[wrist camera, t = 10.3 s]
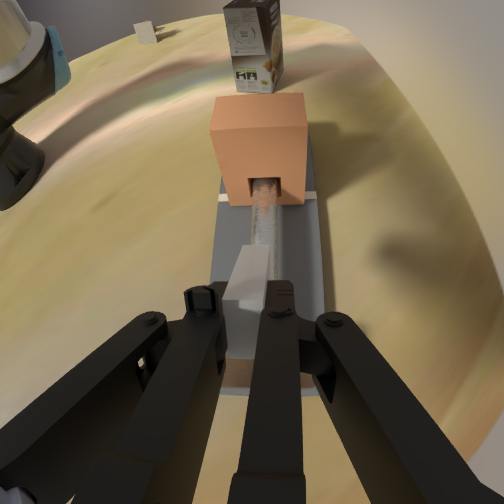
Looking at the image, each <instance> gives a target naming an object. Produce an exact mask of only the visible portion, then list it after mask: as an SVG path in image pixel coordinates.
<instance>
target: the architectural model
mask: <svg viewBox="0 0 504 504" xmlns="http://www.w3.org/2000/svg"><path fill="white" fill-rule="evenodd" d="M134 28H135V31H136V34H137V37H138V40H139V43H140V45H145V44H152V43H158V41H157V38H156V35H155V33H160V32H161V31H162V30H163V29H164V28H165V27H162V28H156V26H155V27H154V28H155V29H154V28H153V26H152V22H151V21H148V22H147V20H146V21H145V22H143V23H138V24H134Z"/></svg>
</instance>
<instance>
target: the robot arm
mask: <svg viewBox="0 0 504 504" xmlns="http://www.w3.org/2000/svg"><path fill="white" fill-rule="evenodd" d="M70 79H71V72H70V68H69V65H68V62H67V59H66V56H65V53H64V50H63V47H62V44H61V41H60V38H59V35H58V32H57V30H56V27H55V26H50V27H47V28H44V27H43V26H42V25H41V24H40V23H38V22H28V20H27V19H26V17H25V15H24V14H23V12H22V10H21V9H20V7H19V5H18V3H17V1H16V0H0V211H2V210H5V209H7V208H9V207H11V206H12V205H13V204H15V203H16V202H17V201H18V200H19V199H20V198H21V197H22V196H23V195H24V194H25V193H26V192H27V191H28V190H29V188H30V187H31V186H32V184H33V183H34V181H35V180H36V178H37V177H38V175H39V173H40V171H41V169H42V166H43V163H44V153H43V151H42V150H41V149H40V147H39V146H38V145H37V144H36V143H35V142H32V141H31V140H29V139H28V138H26V137H25V136H23V135H21V134H20V133H18V132H17V131H16V130H15V129H14V128H13V126H12V125H13V124H14V123H15V122H16V121H18V120H19V119H20V118H22V117H23V116H24V115H26V114H27V113H28V112H30V111H31V110H32V109H34V108H35V107H37V106H38V105H40V104H41V103H42V102H44V101H45V100H47V99H48V98H50V97H51V96H53V95H55V94H56V92H58V91H59V90H60V89H62V88H63V87H64V86H66V85H67V84H68V83H69V82H70ZM184 298H185V304H186V311H187V312H186V314H185V316H184V318H183V319H181V320H176V321H168V322H167V320H166V316H165V315H164V314H163V313H160V312H154V311H149V312H146V313H143V314H140V315H139V316H137V317H136V318H134V319H133V320H132V321H131V322H129V323H128V324H127V325H126V326H124V327H123V328H122V329H121V330H119V331H118V332H117V333H116V334H114V335H113V336H112V337H111V338H109V339H108V340H107V341H106V342H104V343H103V344H102V345H101V346H100V347H98V348H97V349H96V350H95V351H93V352H92V353H91V354H90V355H88V356H87V357H86V358H85V359H84V360H82V361H81V362H80V363H79V364H77V365H76V366H75V367H74V368H73V369H71V370H70V371H69V372H68V373H66V374H65V375H64V376H63V377H62V378H60V379H59V380H58V381H57V382H56V383H54V384H53V385H52V386H51V387H50V388H48V389H47V390H46V391H45V392H44V393H42V394H41V395H40V396H39V397H38V398H36V399H35V400H34V401H33V402H32V403H30V404H29V405H28V406H27V407H26V408H25V409H23V410H22V411H21V412H20V413H19V414H17V415H16V416H15V417H14V418H13V419H12V420H10V421H9V422H8V423H7V424H6V425H5V426H3V427H2V428H1V429H0V504H66V503H67V502H68V501H69V500H70V499H71V498H72V497H73V496H74V495H75V496H74V498H73V500H72V502H71V504H192V501H193V497H194V493H195V489H196V485H197V481H198V478H199V474H200V470H201V466H202V462H203V458H204V454H205V450H206V446H207V442H208V438H209V434H210V430H211V426H212V422H213V418H214V414H215V410H216V405H217V401H218V397H219V393H220V389H221V385H222V381H223V377H224V373H225V369H226V358H225V355H226V351H227V353H228V359H254V365H253V372H252V379H251V386H250V393H249V399H248V406H247V413H246V419H245V426H244V432H243V439H242V445H241V452H240V458H239V464H238V470H237V472H236V473H234V474H233V477H232V480H231V485H230V490H229V496H228V502H227V504H306V479H305V475H304V472H303V433H302V404H301V380H300V372H302V373H307V374H312V380H313V382H314V384H315V386H316V389H317V391H318V393H319V395H320V397H321V399H322V401H323V403H324V405H325V408H326V410H327V412H328V414H329V416H330V418H331V420H332V422H333V424H334V426H335V429H336V431H337V433H338V435H339V437H340V439H341V441H342V443H343V445H344V448H345V450H346V452H347V454H348V456H349V458H350V460H351V462H352V464H353V466H354V469H355V471H356V473H357V475H358V477H359V479H360V481H361V483H362V485H363V488H364V490H365V492H366V494H367V496H368V498H369V500H370V502H371V504H504V497H503V496H501V495H499V494H498V493H496V492H494V491H493V490H491V489H490V488H488V487H487V486H485V485H484V484H482V483H481V482H480V481H479V480H478V479H477V477H476V476H475V475H474V473H473V472H472V470H471V469H470V468H469V466H468V465H467V464H466V462H465V461H464V460H463V458H462V457H461V456H460V454H459V453H458V452H457V450H456V449H455V448H454V446H453V445H452V444H451V442H450V441H449V440H448V438H447V437H446V436H445V434H444V433H443V432H442V430H441V429H440V428H439V427H438V425H437V424H436V423H435V421H434V420H433V419H432V417H431V416H430V415H429V414H428V412H427V411H426V410H425V409H424V407H423V406H422V405H421V403H420V402H419V401H418V400H417V398H416V397H415V396H414V395H413V393H412V392H411V391H410V390H409V388H408V387H407V386H406V384H405V383H404V382H403V381H402V380H401V378H400V377H399V376H398V375H397V373H396V372H395V371H394V370H393V368H392V367H391V366H390V365H389V363H388V362H387V361H386V360H385V359H384V357H383V356H382V355H381V354H380V352H379V351H378V350H377V349H376V348H375V346H374V345H373V344H372V343H371V341H370V340H369V339H368V338H367V337H366V335H365V334H364V333H363V332H362V331H361V329H360V328H359V327H358V326H357V325H356V323H355V322H354V321H353V320H352V319H351V318H350V317H349V316H348V315H346V314H343V313H340V312H327V313H323V314H321V315H319V316H318V317H317V319H316V322H315V321H310V320H306V319H303V318H301V317H300V316H298V315H297V312H296V310H295V299H294V285H293V284H292V283H291V282H290V281H289V280H271V268H270V245H243V246H242V249H241V251H240V254H239V256H238V259H237V262H236V264H235V267H234V269H233V272H232V274H231V277H230V280H229V281H214V282H213V283H212V284H210V285H209V286H205V285H204V286H196V287H192V288H190V289H187V290H186V291H185V292H184ZM141 358H143V362H144V364H143V365H142V366H141V367H139V365H138V361H139V360H140V359H141Z"/></svg>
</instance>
